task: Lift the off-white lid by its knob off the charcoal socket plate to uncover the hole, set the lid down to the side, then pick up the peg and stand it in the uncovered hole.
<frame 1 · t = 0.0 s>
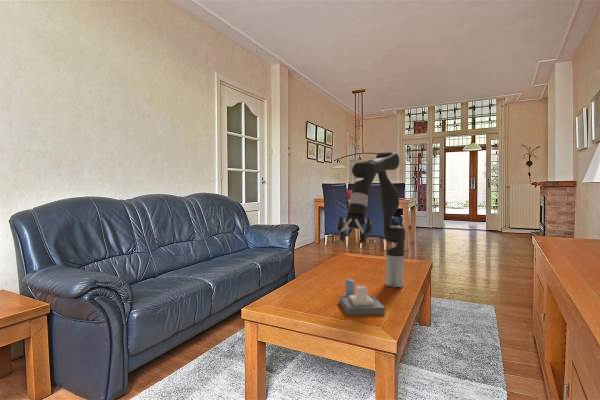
hand: (351, 242, 137), 31 cm above the table, tool tilted 20°, fingers open, 8 cm apart
lid: (361, 301, 148), point 3 cm above the table, touching socket plate
peg: (349, 298, 160), on the table
socket plate: (361, 308, 148), on the table
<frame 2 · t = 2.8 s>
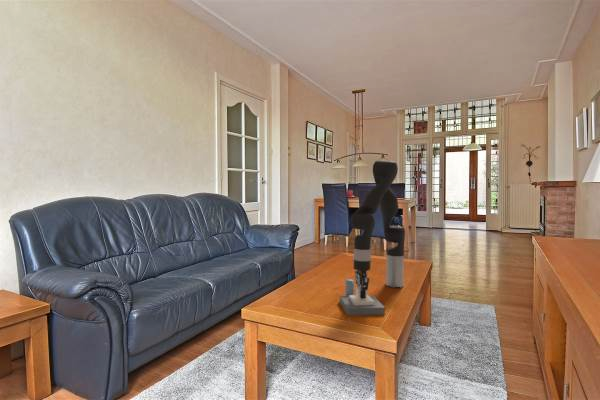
hand: (361, 296, 148), 5 cm above the table, tool pointing down, fingers closed on lid, 4 cm apart
lid: (361, 301, 148), point 3 cm above the table, touching gripper, socket plate
everything else where it was.
when the fingers open (4 cm above the table, at t = 8.3 s): lid drops 2 cm, on the table.
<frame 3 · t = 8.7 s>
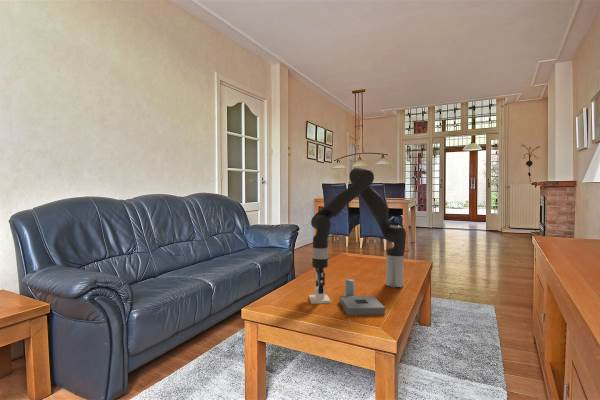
hand: (319, 290, 158), 4 cm above the table, tool pointing down, fingers open, 7 cm apart
lid: (319, 300, 158), on the table
everything else where it was.
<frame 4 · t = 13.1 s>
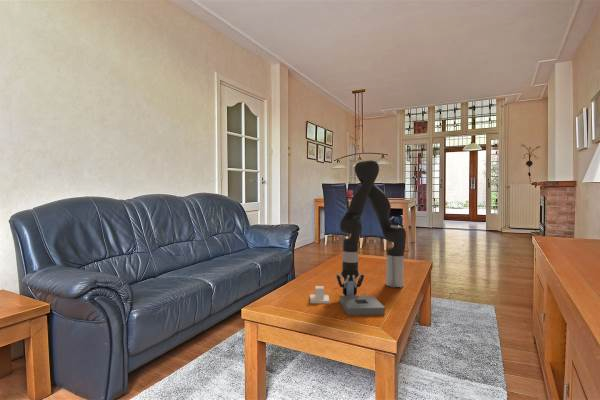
hand: (349, 295, 160), 2 cm above the table, tool pointing down, fingers closed on peg, 4 cm apart
peg: (349, 298, 160), on the table, touching gripper
everything else where it was.
when the fingers open (4 cm above the table, at t = 19.0 s): peg drops 2 cm, resting in socket plate.
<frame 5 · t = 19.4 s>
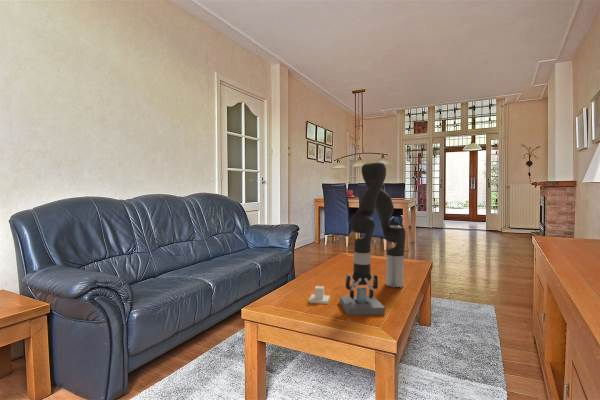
hand: (361, 298, 148), 5 cm above the table, tool pointing down, fingers open, 8 cm apart
peg: (361, 308, 148), resting in socket plate
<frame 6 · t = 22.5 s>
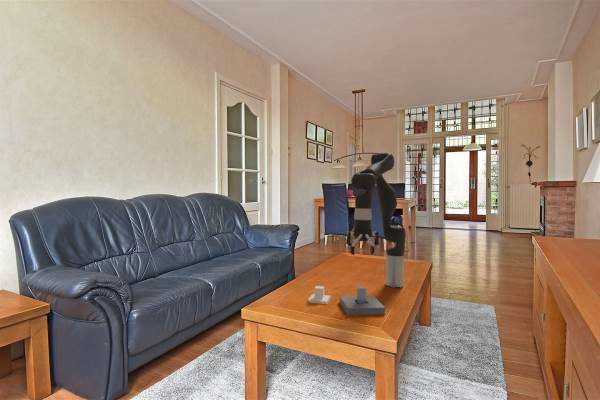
hand: (362, 254, 147), 24 cm above the table, tool pointing down, fingers open, 8 cm apart
at the end: peg 0.1 cm off-centre on the socket plate, point 0.0 cm above the socket plate's base; peg tilted 0°; lid touching table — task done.
